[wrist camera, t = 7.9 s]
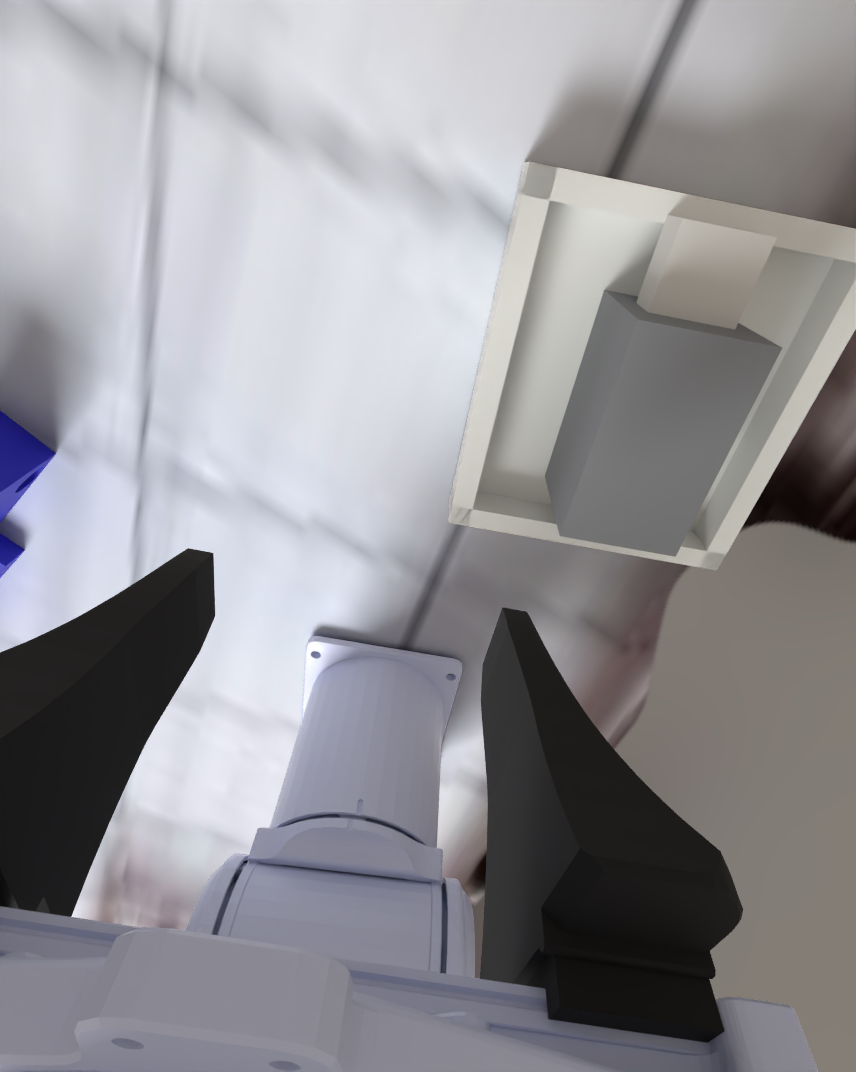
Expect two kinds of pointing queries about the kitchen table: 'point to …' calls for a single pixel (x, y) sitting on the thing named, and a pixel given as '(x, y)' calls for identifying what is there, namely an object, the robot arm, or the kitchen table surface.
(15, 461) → the blue u-shaped cradle block
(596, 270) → the tray
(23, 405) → the kitchen table surface
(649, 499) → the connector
